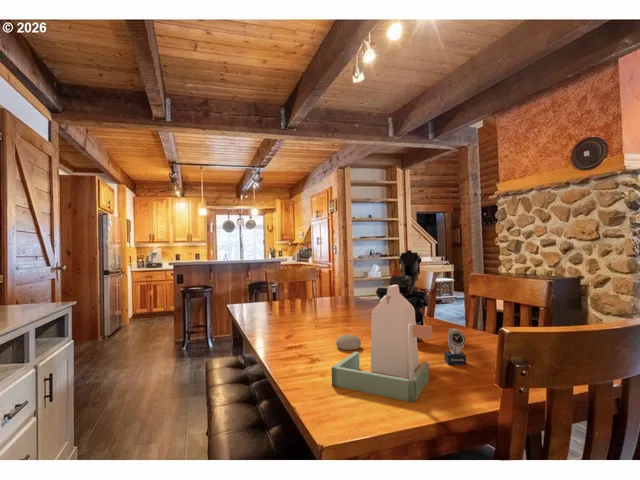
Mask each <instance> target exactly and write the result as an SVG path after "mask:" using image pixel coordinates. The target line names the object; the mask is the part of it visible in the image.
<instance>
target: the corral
mask: <svg viewBox="0 0 640 480" xmlns="http://www.w3.org/2000/svg"><path fill="white" fill-rule="evenodd" d="M433 335H434V334H433V325H431V326H430V325H424V326H423V325H413V324H408V343H409V377H408V378H404V377H399V376H394V375H388V374H383V373H378V372H373V371H366V370H365V371H364V370H359V369H360V368H361V367H360V352H359V351H354V352H352V353H350V355H348V356H346V357H345V358H344V359H342V360H340V361H338V362H337V363H336V364H334V365H333V366H332V367H331V386H333V387H337V388H342V389H346V390H352V391H356V392H357V391H358V392H361V393H366V394H371V395H375V396H381V397H386V398H389V399H390V398H391V399H395V400H398V401H399V400H400V401H405V402H409V403H416V401H417V399H418V398H419V397H420V394H422V392H423V390H424V389H425V387H426V385H427V384H428V382H429V380H430V374H429V372H430V371H429V367H430V366H429V362H428V361H422V363H421V364H419V366H418V367H417V368H416V369H415V370H414V345H413V337H418V338H422V339H428V340H433V337H434V336H433Z"/></svg>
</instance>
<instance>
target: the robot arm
mask: <svg viewBox="0 0 640 480" xmlns="http://www.w3.org/2000/svg"><path fill="white" fill-rule="evenodd" d="M398 263H399V265H400V276H399V275H398V276H397V275H390V280H389V286H392V285H399V293H400V294H401V295H402V296H403V297H404V298H405V299H406V300H407V301H408V302H410V303H411V305H412V306H413V307H414V310H415V321H416V325H423V326H425V325H424V324H425V323H424V321H425V319H424V318H425V317H424V313H423V311H422V310H421V309H423V308H425V307H429V305H430V298H429V295H428V294H427V292H426V291H423V290H416V282H418V280H419V276H420V274H421V272H420V270H421V269H420V268H421V266H420V264H421V263H422V258H421V256H420V255H419V253H418V252H417V251H416V252H413V251H412V249H409V250H408V249H407V250H406V251H405V252H401V254H400V255H399V257H398ZM387 289H388V287H380V286H379V287H377V288H376V292H375V294H376V296H378V298H379V301H380V300H381V299H382V298H383V297H384V296H385V295H387ZM421 341H423V338H418V337H417V343H418V342H421Z"/></svg>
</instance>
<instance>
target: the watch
mask: <svg viewBox="0 0 640 480" xmlns="http://www.w3.org/2000/svg"><path fill="white" fill-rule="evenodd" d="M447 335H448V337H447V343H448V348H449V350H445V351H444V361H445V363H446V364H447V365H448V366H467V355H466V354H465V353H464V352H463V349H464V345H465V342H466V341H467V337H466V336H465V335H464V334H463V332H462V331H461V330H460V329H458V328H449V329H448V331H447Z"/></svg>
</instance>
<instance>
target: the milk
mask: <svg viewBox="0 0 640 480" xmlns="http://www.w3.org/2000/svg"><path fill="white" fill-rule="evenodd" d="M387 288H388V289H387V295H385V296H384V297H383V298H382V299H381V300H380V299H379V303H378V304H377V305H376V306H374V307H373V309H372V311H371V333H370V334H371V335H370V337H371V339H370V372H372V373H378V374H383V375H389V376H395V377H400V378H406V379H409V343H408V324H413V325H416V321H415V310H414V307H413V306H412V305H411V303H410V302H408V301H407V300H406V299H405V298H404V297H403V296H402V295H401V294H400V293H399V285H389V286H388V287H387ZM413 345H414V371H416V370H417V369H418V368H419V366H420V364H419V350H418V342H417V337H413Z"/></svg>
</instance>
